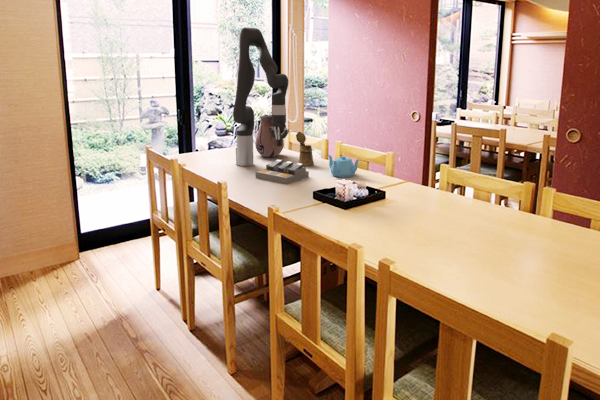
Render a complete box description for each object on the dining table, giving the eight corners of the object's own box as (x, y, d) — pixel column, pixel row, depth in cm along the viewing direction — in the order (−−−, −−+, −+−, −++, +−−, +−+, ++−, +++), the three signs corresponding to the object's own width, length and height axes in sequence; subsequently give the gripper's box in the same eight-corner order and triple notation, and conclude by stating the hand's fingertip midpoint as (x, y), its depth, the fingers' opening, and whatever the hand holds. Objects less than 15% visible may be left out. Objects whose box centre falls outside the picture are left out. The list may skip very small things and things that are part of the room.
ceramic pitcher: (274, 152, 331) (274, 113, 324) (292, 157, 314) (292, 116, 307) (250, 155, 322) (249, 114, 315) (267, 161, 305) (266, 119, 298)
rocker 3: (289, 172, 263) (288, 169, 263) (298, 165, 269) (297, 162, 268) (294, 173, 261) (294, 170, 260) (303, 166, 266) (303, 163, 266)
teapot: (353, 171, 281) (353, 153, 278) (360, 178, 267) (361, 158, 264) (326, 172, 279) (327, 153, 276) (332, 179, 265) (333, 159, 262)
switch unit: (255, 177, 267) (255, 167, 266) (278, 171, 281) (277, 161, 279) (286, 184, 255) (286, 173, 253) (308, 177, 269) (308, 166, 267)
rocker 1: (268, 168, 272) (267, 165, 271) (278, 161, 277) (277, 159, 276) (273, 169, 269) (273, 166, 269) (283, 162, 275) (282, 160, 274)
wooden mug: (305, 161, 306) (305, 131, 301) (316, 165, 294) (317, 134, 289) (292, 162, 302) (292, 132, 297) (302, 167, 290) (303, 135, 285)
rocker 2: (278, 170, 267) (278, 167, 267) (288, 163, 273) (287, 160, 272) (283, 171, 265) (283, 168, 265) (293, 164, 271) (292, 161, 270)
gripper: (264, 113, 269) (265, 146, 273) (283, 115, 261) (284, 148, 266) (273, 111, 274) (274, 144, 279) (293, 113, 266) (293, 146, 271)
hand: (279, 146), depth 272 cm, fingers closed
